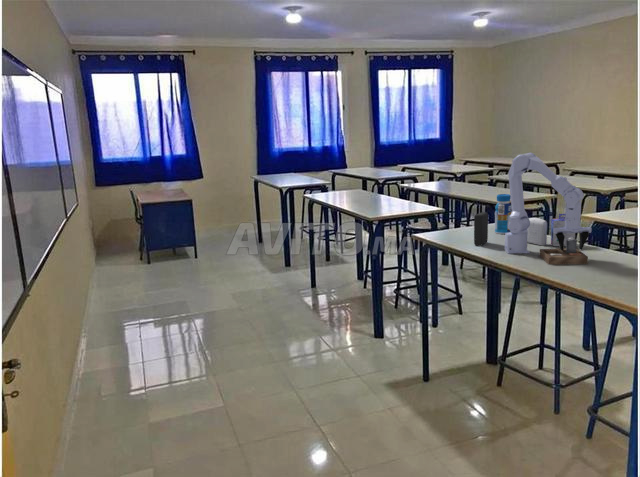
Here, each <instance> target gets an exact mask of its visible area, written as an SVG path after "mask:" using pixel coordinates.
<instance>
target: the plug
mask: <svg viewBox="0 0 640 477" xmlns="http://www.w3.org/2000/svg"><path fill="white" fill-rule="evenodd" d="M565 248H566V254H569V253H576V249H578V240H577V239H576V237H575V238H569V239H567V240H566V246H565Z"/></svg>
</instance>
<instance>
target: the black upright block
mask: <svg viewBox="0 0 640 477" xmlns="http://www.w3.org/2000/svg"><path fill="white" fill-rule="evenodd" d="M473 220H474V221H473V222H474V223H473V244H474V245H475V246H478V245H481V246H482V244H483V245H484V244H486V243H488V239H489V238H488V237H489V235H488V232H489V214H488V212H485V211H484V212H483V211H482V212H479V213H477V214H475V215H474V217H473Z"/></svg>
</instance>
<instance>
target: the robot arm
mask: <svg viewBox="0 0 640 477" xmlns="http://www.w3.org/2000/svg"><path fill="white" fill-rule="evenodd" d="M528 170H532V171H537V172H538V173H539V174H540V175H542V176H543V177H544V178H545V179H547V180H548V181H549V182H550V184H551V186H550V187H552V188H553V189H554V190H555V191H556V192H558V194H560V195H561V196H562V197H563V200H564V202H565V214H566V215H564V217H565V227H563V228H554V229H553V233H555V234H556V236H557V239H558V241H559V245H560V246H559V249H561V250H563V249H564V238H565V236H564V234H563V233H575V234H577V233H578V234H579V242H578V243H579V246H578V250H579V251H581V250H584V246H585V243H586V241H587V239H588V238H589V237H590V234H591V233H592V227H589V226H588V227H586V226H581V218H582V217H581V214H582V200H583V199H584V192H583V191H582V189H581V188H579V187H577V186H576V185H573V184H572V183H571V182H569V181H568V178H567V177H565V176H562V175H560V176H559V175H556V173H555V172H554V171H553V170H551V168H549V167H548V165H546V164H545V162H544V161H542V160H541V158H540V157H538V156H536V154H535V153H533V152H526V153H521V154H518V155H516V156H515V157H514V158H513V159H512V163H511V164H510V168H509V170H508V183H509V193H510V194H509V195H510V196H511V199H510V204H511V207H512V209H511V211H512V213H511V215H510V221H509V224H508V228H509V230H510V231H511V232H509V233H505V234H504V251H505V252H506V253H507V254H530V253H531V252H530V250H528V242H527V236H528V231H527V228H529V226H530V220H529V216H528V213H527V211H526V210H525V200H524V199H525V198H524V188H523V177H522V176H523V175H524V173H525V172H527V171H528Z"/></svg>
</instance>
